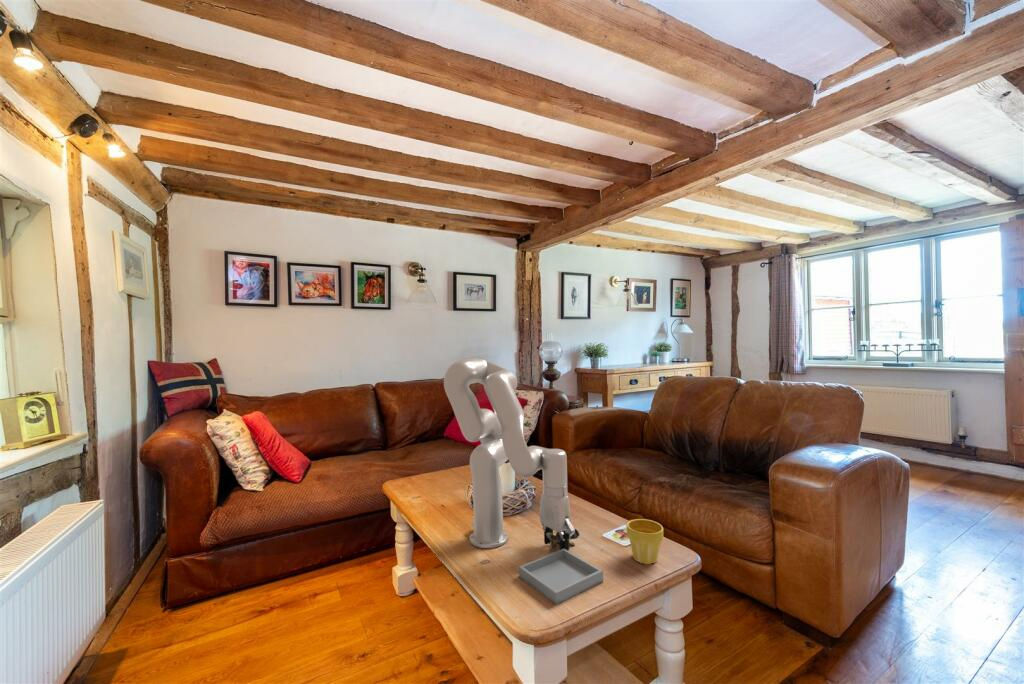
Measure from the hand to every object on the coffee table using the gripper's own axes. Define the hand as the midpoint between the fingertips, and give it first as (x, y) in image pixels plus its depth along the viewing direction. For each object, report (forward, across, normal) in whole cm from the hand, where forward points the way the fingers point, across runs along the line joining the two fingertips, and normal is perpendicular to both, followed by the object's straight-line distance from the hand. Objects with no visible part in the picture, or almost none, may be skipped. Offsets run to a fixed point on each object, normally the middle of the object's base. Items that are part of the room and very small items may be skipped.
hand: (556, 546), depth 135 cm
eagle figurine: (+1, 0, +2) cm, 3 cm away
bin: (+1, +13, -10) cm, 16 cm away
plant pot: (+1, +20, +17) cm, 26 cm away
